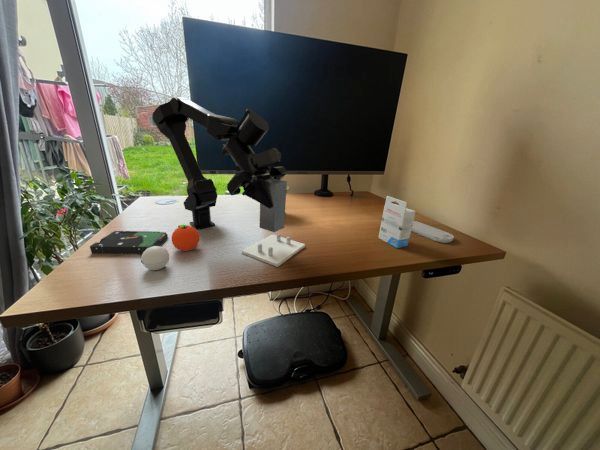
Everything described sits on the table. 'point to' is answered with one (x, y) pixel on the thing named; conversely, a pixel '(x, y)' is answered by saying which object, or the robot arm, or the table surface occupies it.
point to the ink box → (396, 223)
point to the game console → (431, 232)
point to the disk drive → (128, 242)
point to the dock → (274, 249)
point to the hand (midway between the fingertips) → (277, 205)
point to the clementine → (185, 238)
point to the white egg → (155, 258)
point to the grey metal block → (276, 214)
